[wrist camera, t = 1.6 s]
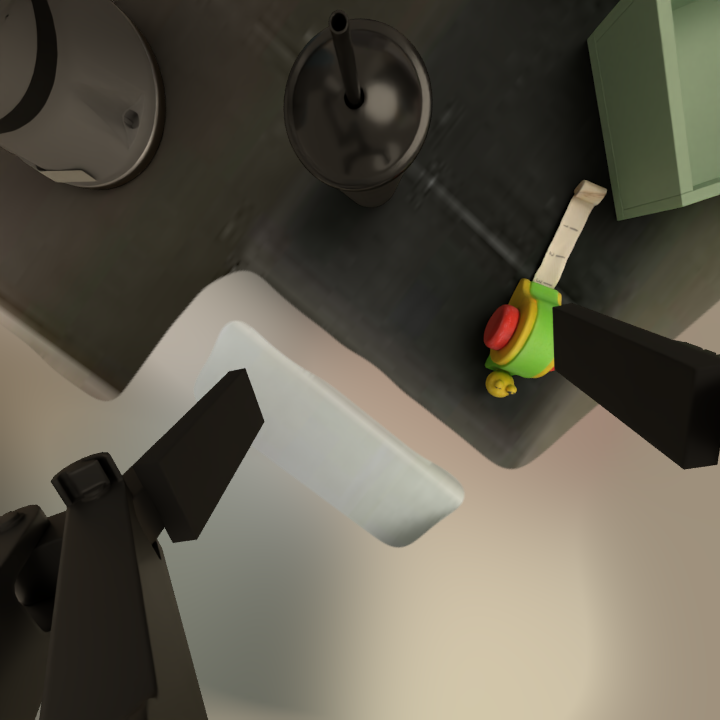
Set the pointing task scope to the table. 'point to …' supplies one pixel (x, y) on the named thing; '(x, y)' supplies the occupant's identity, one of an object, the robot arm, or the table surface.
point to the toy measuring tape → (535, 305)
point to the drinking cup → (358, 107)
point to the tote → (659, 102)
